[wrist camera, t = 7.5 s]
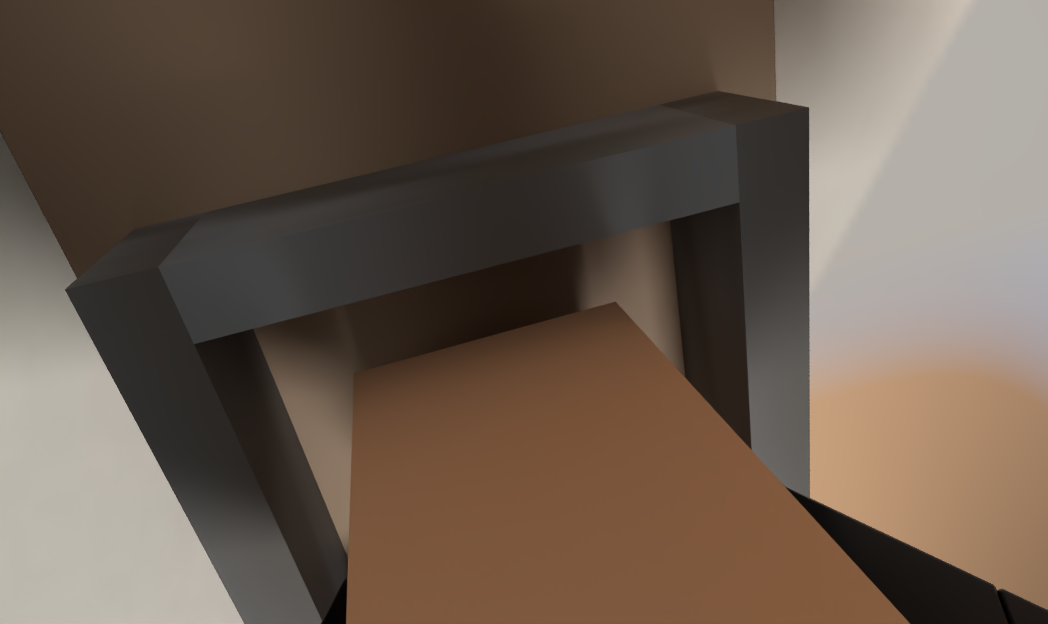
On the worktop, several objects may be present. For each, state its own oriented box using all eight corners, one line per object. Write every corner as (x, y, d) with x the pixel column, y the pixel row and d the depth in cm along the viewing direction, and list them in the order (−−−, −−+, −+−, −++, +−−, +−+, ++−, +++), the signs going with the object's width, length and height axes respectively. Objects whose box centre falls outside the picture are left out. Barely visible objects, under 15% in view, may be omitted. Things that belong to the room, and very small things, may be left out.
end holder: (349, 760, 16) (345, 923, 13) (-92, -114, 8) (-344, -192, 5) (770, 616, 17) (852, 735, 14) (736, -255, 9) (899, -379, 7)
